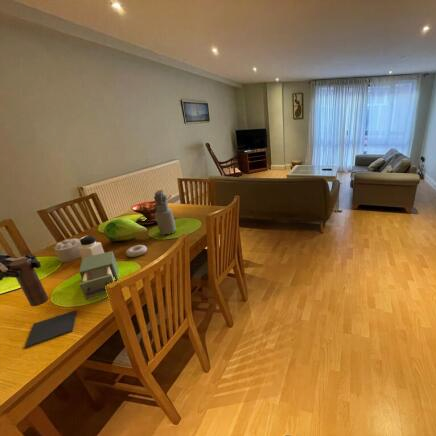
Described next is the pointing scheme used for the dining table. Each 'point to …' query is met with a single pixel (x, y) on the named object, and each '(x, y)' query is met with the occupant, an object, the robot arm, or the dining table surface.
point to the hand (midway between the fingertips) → (29, 269)
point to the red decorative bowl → (146, 212)
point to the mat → (51, 328)
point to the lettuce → (123, 230)
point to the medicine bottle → (90, 247)
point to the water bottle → (163, 214)
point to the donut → (136, 251)
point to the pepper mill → (29, 282)
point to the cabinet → (99, 263)
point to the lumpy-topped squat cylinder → (68, 250)
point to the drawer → (96, 282)
